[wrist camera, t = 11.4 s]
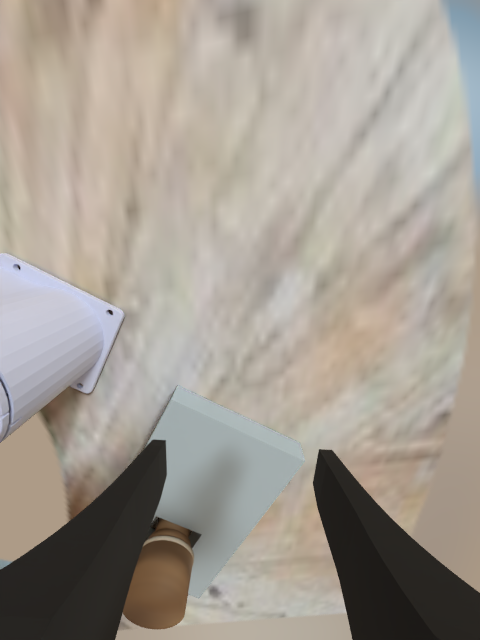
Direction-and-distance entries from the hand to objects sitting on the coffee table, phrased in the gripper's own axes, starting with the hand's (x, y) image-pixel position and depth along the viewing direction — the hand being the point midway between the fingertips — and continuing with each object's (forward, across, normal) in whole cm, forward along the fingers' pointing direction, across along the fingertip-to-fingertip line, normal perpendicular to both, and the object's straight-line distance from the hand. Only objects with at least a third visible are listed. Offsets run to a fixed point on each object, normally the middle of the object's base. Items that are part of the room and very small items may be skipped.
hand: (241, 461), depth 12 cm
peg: (+9, +6, +17) cm, 20 cm away
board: (+9, +4, +14) cm, 17 cm away
